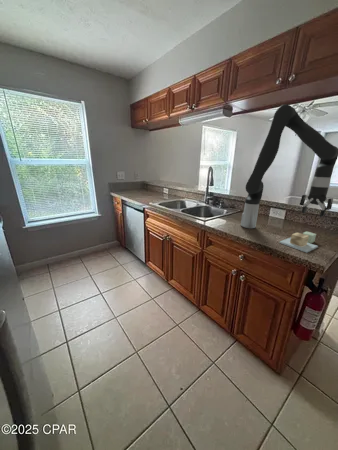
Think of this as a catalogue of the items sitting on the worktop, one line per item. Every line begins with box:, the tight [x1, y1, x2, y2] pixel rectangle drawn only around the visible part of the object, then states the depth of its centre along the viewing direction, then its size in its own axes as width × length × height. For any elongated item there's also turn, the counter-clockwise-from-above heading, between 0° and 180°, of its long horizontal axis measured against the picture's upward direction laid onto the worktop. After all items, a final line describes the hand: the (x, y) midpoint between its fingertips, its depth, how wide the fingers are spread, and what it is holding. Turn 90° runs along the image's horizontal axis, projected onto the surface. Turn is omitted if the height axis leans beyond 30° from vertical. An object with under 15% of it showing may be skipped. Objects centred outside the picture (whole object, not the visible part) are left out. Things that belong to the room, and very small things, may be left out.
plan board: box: [279, 236, 319, 253], centre depth 104 cm, size 14×12×1 cm
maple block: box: [290, 232, 309, 247], centre depth 103 cm, size 6×6×5 cm
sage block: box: [302, 230, 317, 244], centre depth 109 cm, size 5×5×5 cm
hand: (312, 214), depth 105 cm, fingers open, 8 cm apart
